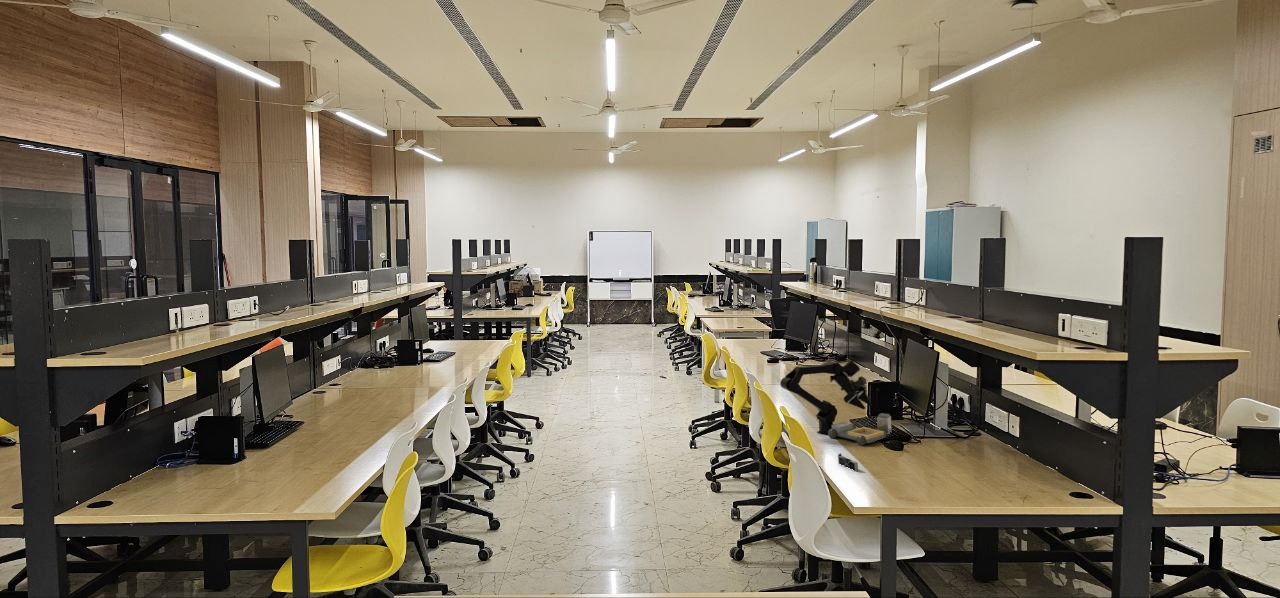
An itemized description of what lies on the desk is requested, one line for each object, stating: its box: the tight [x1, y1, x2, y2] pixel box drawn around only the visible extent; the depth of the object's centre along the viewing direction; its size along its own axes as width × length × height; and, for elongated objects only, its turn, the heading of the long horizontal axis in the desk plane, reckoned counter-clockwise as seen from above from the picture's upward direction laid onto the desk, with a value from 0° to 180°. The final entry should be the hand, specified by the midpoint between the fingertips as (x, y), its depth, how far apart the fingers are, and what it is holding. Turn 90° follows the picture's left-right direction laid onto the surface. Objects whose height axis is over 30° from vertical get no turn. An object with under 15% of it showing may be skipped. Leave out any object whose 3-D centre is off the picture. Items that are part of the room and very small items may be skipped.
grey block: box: [876, 412, 892, 434], centre depth 335 cm, size 5×5×10 cm
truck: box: [827, 421, 887, 447], centre depth 332 cm, size 23×15×6 cm, turn 33°
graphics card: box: [837, 453, 859, 472], centre depth 291 cm, size 12×3×5 cm, turn 19°
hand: (868, 406), depth 339 cm, fingers open, 9 cm apart
